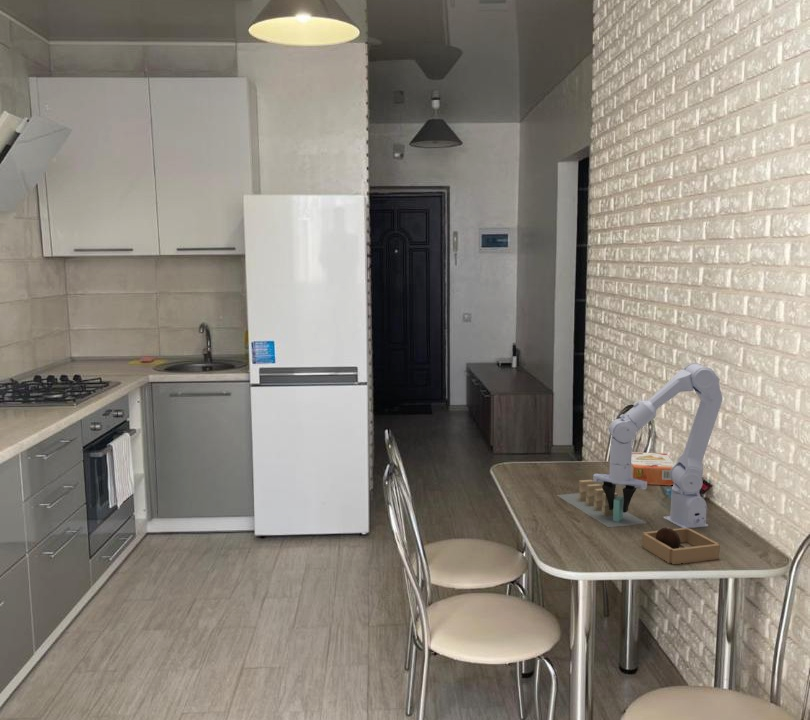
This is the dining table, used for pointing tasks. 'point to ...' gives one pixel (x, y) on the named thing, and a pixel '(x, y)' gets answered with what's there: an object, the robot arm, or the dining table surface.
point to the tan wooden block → (598, 499)
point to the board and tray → (700, 552)
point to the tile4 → (591, 493)
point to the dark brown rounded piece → (669, 538)
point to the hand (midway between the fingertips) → (618, 510)
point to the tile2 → (606, 505)
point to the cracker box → (652, 468)
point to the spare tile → (618, 508)
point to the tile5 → (583, 489)
